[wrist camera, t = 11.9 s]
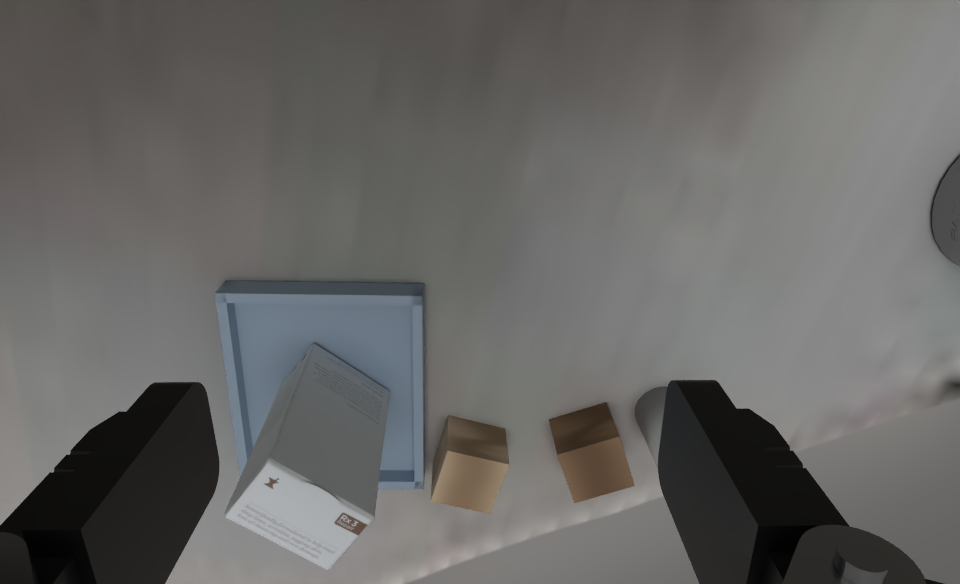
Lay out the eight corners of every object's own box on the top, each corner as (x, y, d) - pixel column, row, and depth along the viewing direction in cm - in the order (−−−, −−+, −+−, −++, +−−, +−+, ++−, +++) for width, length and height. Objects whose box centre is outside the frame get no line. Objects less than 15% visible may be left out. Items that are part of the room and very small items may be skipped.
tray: (423, 283, 40) (422, 295, 38) (425, 470, 45) (423, 489, 44) (226, 280, 40) (214, 293, 38) (250, 469, 45) (241, 488, 43)
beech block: (504, 427, 44) (509, 464, 41) (487, 474, 46) (490, 513, 42) (448, 414, 44) (447, 450, 40) (432, 462, 45) (430, 500, 42)
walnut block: (605, 401, 44) (619, 436, 40) (620, 448, 45) (634, 485, 42) (549, 418, 44) (557, 454, 41) (565, 464, 46) (574, 503, 42)
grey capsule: (691, 386, 44) (719, 430, 39) (683, 432, 45) (709, 479, 40) (637, 386, 43) (659, 430, 39) (632, 432, 45) (651, 479, 40)
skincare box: (278, 387, 42) (211, 521, 30) (316, 336, 40) (261, 457, 29) (358, 435, 43) (324, 579, 32) (397, 388, 42) (376, 521, 31)
